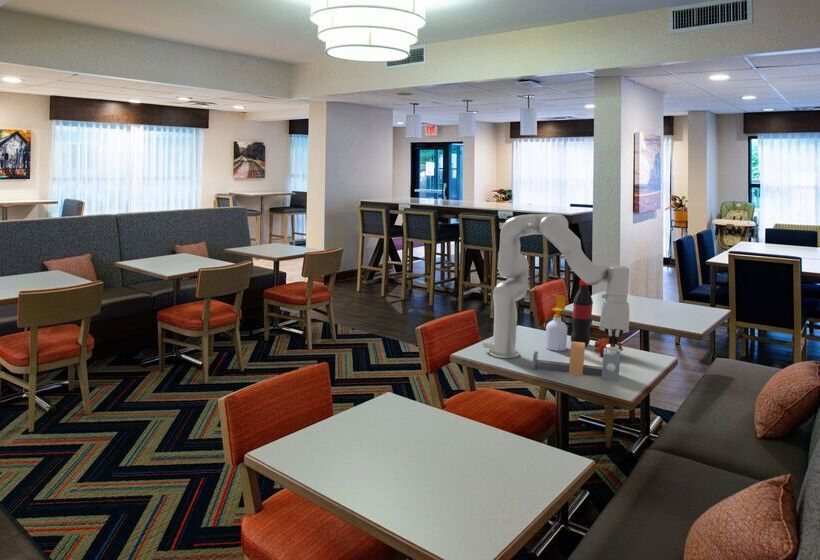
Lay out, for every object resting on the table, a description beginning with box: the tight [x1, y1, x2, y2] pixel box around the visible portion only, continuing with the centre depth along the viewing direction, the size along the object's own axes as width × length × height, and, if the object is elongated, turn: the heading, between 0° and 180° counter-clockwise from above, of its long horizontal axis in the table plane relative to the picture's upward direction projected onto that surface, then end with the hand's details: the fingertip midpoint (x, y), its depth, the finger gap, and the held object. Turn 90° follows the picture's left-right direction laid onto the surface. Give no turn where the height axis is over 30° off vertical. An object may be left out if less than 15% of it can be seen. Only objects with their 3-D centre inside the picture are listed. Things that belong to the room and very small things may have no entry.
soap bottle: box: [544, 293, 568, 352], centre depth 260 cm, size 9×9×25 cm
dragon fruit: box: [593, 337, 624, 356], centre depth 252 cm, size 8×8×12 cm
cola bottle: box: [570, 279, 594, 347], centre depth 265 cm, size 8×8×30 cm
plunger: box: [606, 344, 619, 354], centre depth 225 cm, size 5×5×5 cm
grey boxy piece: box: [601, 348, 621, 382], centre depth 226 cm, size 6×8×10 cm
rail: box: [532, 350, 602, 378], centre depth 231 cm, size 27×5×6 cm, turn 72°
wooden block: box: [568, 341, 586, 376], centre depth 230 cm, size 5×7×11 cm
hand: (612, 345), depth 225 cm, fingers closed
